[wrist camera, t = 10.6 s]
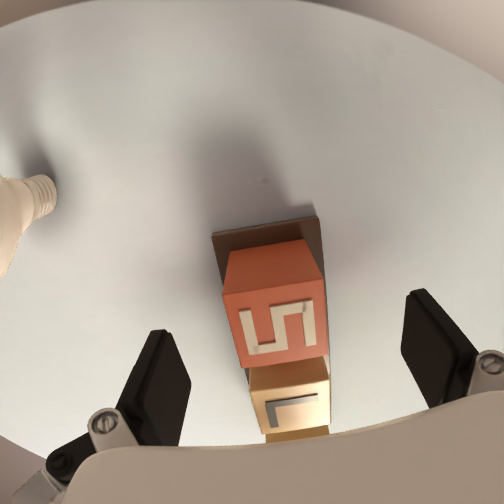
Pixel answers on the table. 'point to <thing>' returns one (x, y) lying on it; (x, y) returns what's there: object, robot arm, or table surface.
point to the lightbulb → (22, 210)
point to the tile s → (275, 304)
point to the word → (289, 373)
